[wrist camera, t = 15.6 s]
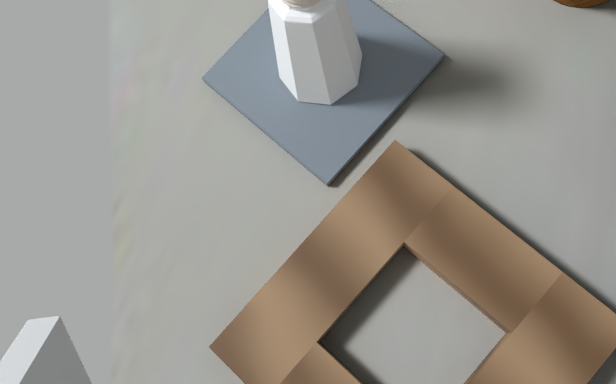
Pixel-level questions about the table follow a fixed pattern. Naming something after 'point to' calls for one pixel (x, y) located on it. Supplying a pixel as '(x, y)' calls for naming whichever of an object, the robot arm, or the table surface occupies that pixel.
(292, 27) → the pepper shaker
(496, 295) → the walnut frame
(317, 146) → the grey mat
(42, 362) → the robot arm
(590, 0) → the disposable coffee cup
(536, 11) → the table surface
